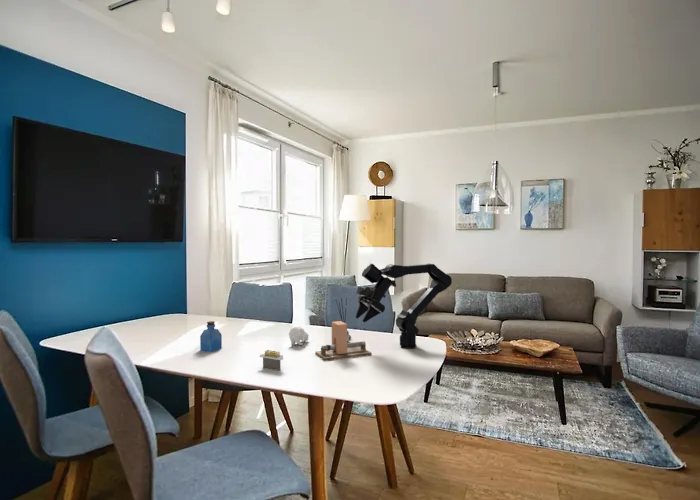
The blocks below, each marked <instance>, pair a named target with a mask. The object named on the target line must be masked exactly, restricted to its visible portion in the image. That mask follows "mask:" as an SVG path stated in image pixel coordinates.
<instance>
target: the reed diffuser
mask: <svg viewBox="0 0 700 500" xmlns="http://www.w3.org/2000/svg"><path fill="white" fill-rule="evenodd" d="M347 300H348V298H346V299H345V304H347V302H348V301H347ZM340 301H341V302H338V301H337V300H335V302H336V306H337V309H338V312H339V315H340V319H341V320H340V321H341V322H344V320H345V319H346V314H347V309H345V314H344V313H342V311H344V306H343V304H340V303H343V300H342V298H341V299H340ZM340 307H341V308H340ZM341 309H342V311H341ZM351 339H352V336H351V335H350V334H349V330H347V341H349V340H351Z"/></svg>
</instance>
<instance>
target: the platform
mask: <svg viewBox="0 0 700 500" xmlns="http://www.w3.org/2000/svg"><path fill="white" fill-rule="evenodd" d="M259 358H262V368H264V369H271V370H275V369H276V370H277V371H281V369H282V368H281V361H282V360H284V355H282V354H280V351H276V350H269V349H267V350H265V351H264V353H263V354H259ZM276 370H275V371H276Z"/></svg>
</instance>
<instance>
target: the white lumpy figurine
mask: <svg viewBox="0 0 700 500" xmlns="http://www.w3.org/2000/svg"><path fill="white" fill-rule="evenodd" d="M288 336H289V340H290V343H291V345H292V346H294V345H295V344H297V345H298V346H304V344H303V342H308V340H309V333H308V332H307V331H305V329H304V328H303V327H302V326H300V325H294V326H292V328H291V329H290V330H289V333H288Z"/></svg>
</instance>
